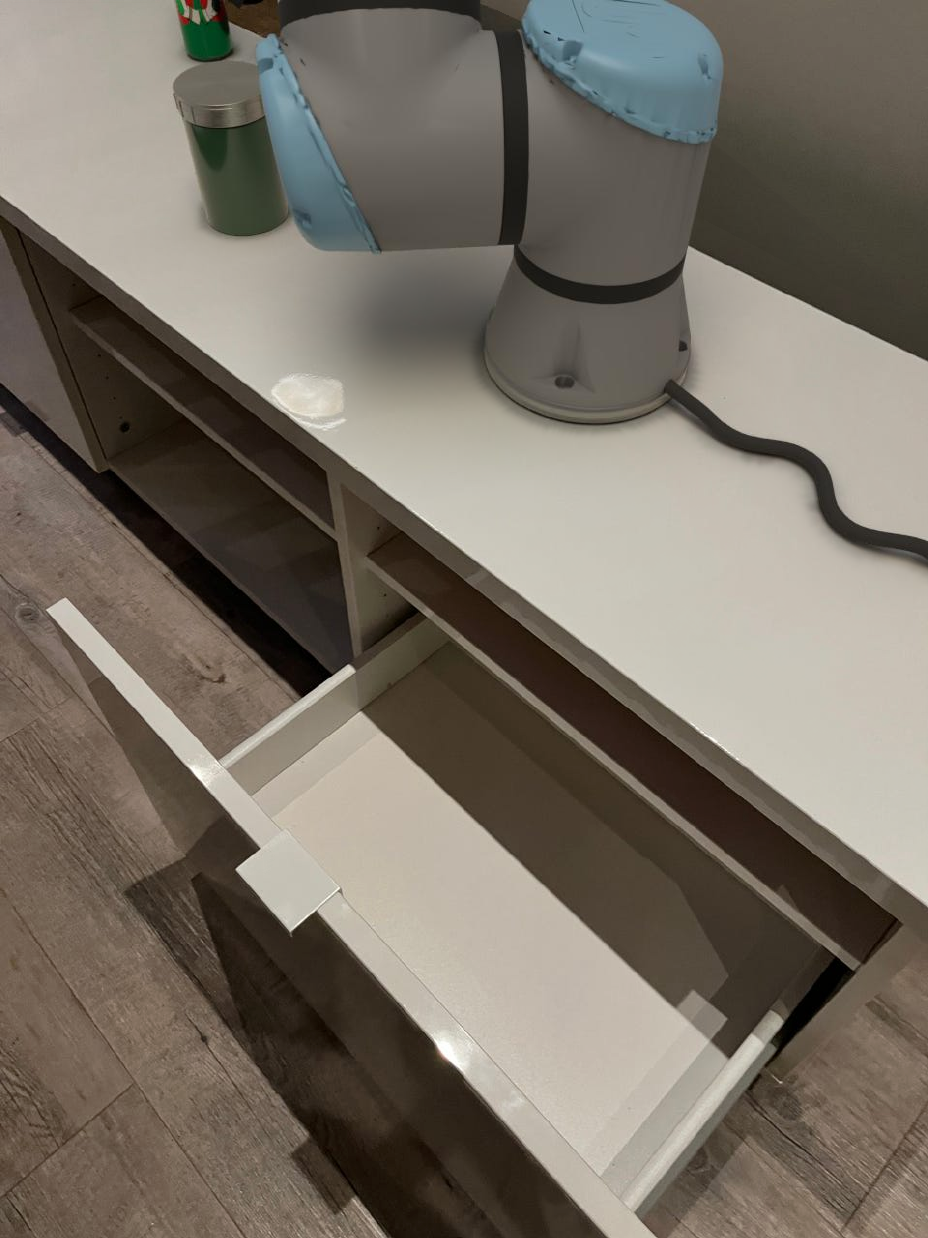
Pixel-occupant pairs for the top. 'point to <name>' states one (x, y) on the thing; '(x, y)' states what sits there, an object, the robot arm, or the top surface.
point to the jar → (238, 177)
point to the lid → (219, 94)
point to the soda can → (204, 28)
